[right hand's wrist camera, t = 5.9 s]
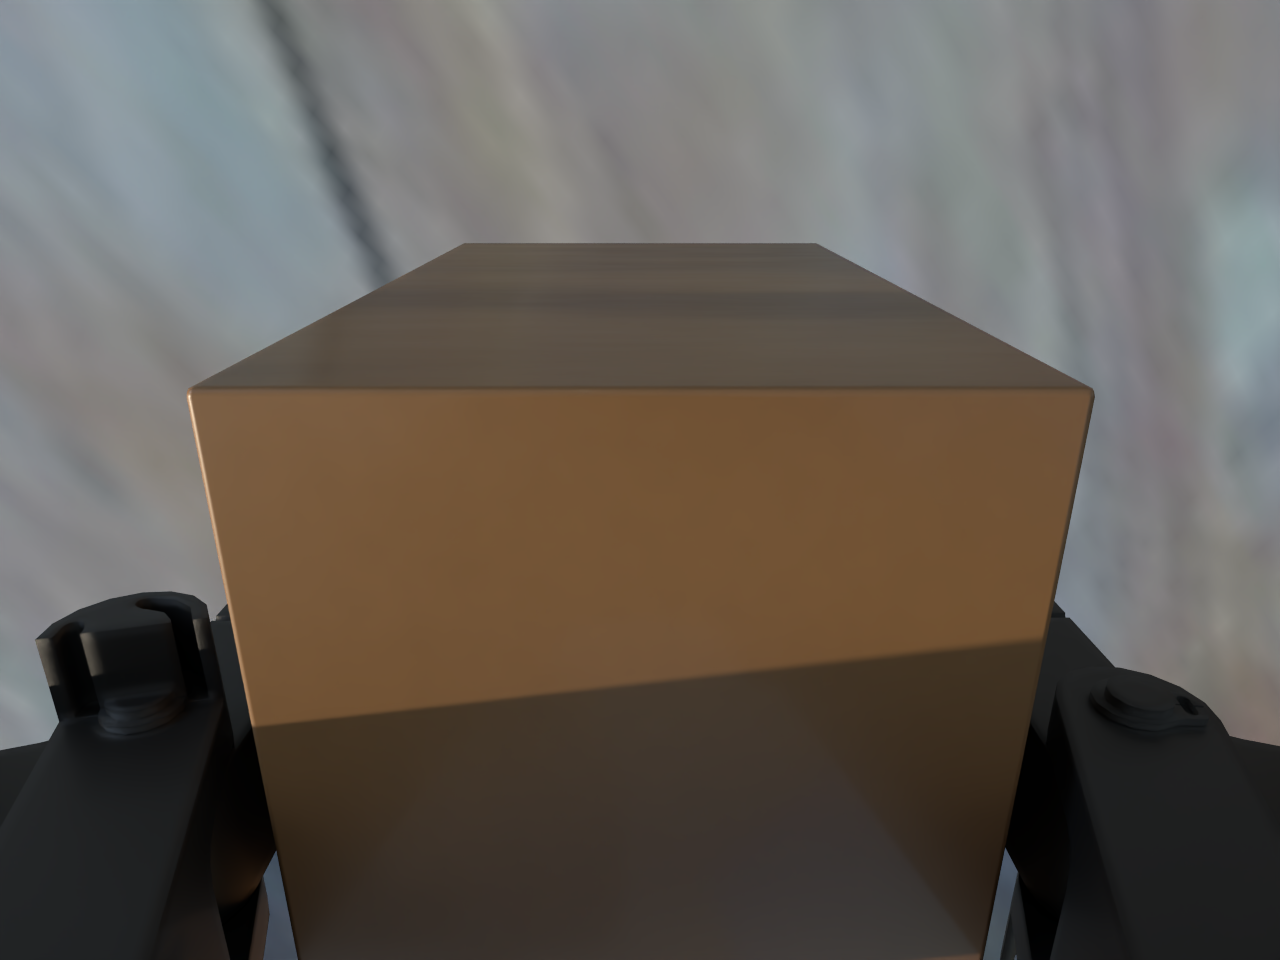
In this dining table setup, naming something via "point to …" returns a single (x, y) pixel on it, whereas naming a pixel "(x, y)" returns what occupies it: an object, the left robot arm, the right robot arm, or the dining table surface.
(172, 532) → the dining table surface
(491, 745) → the bar
